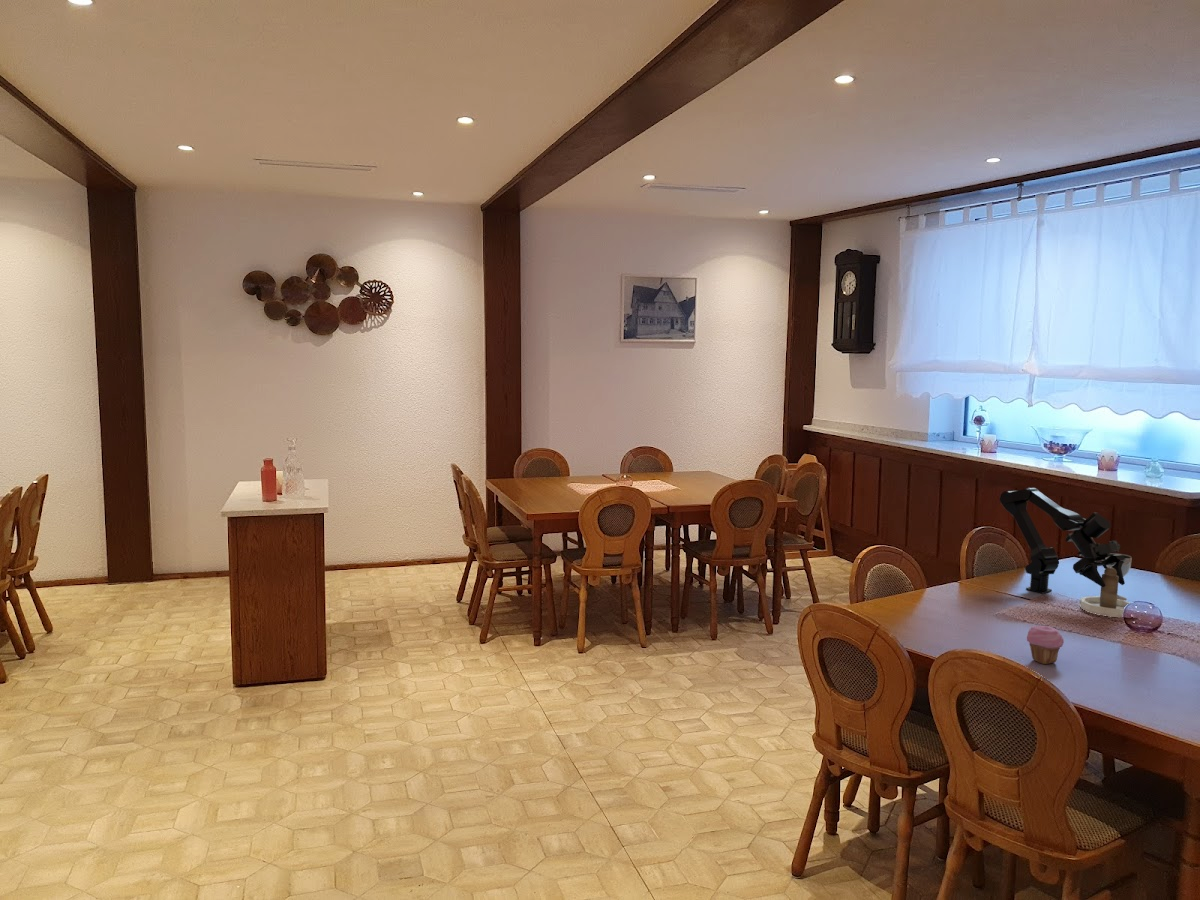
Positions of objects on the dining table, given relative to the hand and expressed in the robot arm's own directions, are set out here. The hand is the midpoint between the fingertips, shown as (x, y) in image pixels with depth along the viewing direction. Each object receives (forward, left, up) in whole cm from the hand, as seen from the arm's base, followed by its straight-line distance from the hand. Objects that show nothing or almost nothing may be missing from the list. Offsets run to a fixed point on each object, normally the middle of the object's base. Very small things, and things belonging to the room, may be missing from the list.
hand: (1113, 585), depth 287 cm
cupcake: (+69, +10, -9) cm, 70 cm away
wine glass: (-21, -7, -9) cm, 24 cm away
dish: (0, -1, -9) cm, 9 cm away
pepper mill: (0, -1, -8) cm, 8 cm away
